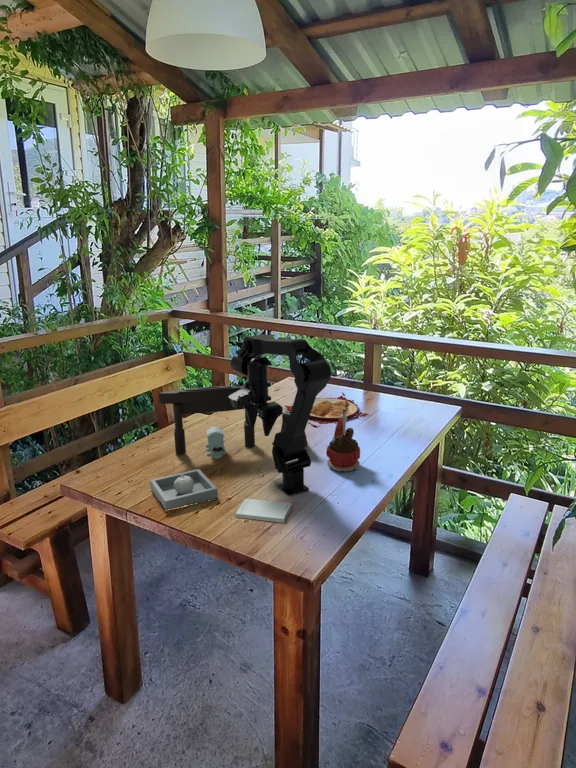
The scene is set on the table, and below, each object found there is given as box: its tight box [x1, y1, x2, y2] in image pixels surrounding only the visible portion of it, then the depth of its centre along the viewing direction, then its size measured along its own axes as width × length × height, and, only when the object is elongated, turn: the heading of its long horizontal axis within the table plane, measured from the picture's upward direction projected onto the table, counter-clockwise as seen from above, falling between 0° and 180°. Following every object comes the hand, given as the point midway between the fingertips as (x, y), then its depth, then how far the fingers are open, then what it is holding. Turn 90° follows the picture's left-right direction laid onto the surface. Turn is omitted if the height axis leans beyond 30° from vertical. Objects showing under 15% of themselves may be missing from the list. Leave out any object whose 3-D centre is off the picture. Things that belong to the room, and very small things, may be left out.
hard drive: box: [234, 498, 293, 524], centre depth 138 cm, size 2×8×12 cm
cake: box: [325, 409, 361, 472], centre depth 161 cm, size 11×9×18 cm
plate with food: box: [284, 392, 370, 428], centre depth 211 cm, size 25×26×4 cm
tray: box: [149, 468, 219, 510], centre depth 147 cm, size 14×14×3 cm
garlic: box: [174, 473, 194, 494], centre depth 147 cm, size 6×5×5 cm
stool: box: [158, 385, 256, 460], centre depth 175 cm, size 16×21×33 cm
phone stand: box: [280, 410, 309, 448], centre depth 176 cm, size 9×6×12 cm, turn 147°
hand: (259, 430), depth 159 cm, fingers open, 9 cm apart
